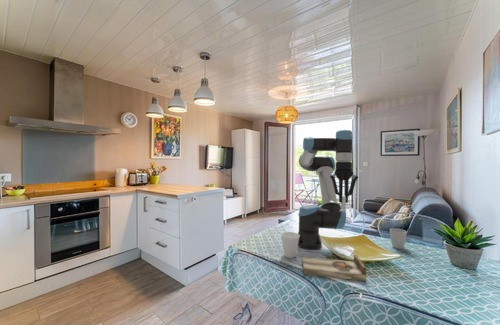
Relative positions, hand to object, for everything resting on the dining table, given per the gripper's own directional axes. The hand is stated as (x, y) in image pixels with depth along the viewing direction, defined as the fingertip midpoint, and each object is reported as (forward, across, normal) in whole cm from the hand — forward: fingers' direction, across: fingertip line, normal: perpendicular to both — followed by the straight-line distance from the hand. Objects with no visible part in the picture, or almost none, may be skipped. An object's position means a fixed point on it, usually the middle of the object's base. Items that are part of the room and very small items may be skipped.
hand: (343, 209), depth 102 cm
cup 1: (+27, -26, +2) cm, 37 cm away
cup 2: (+27, +37, +29) cm, 54 cm away
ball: (+25, -3, -9) cm, 26 cm away
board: (+26, -7, -9) cm, 29 cm away
